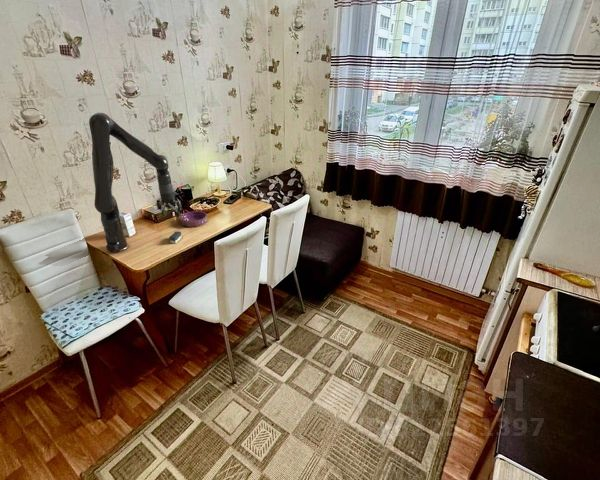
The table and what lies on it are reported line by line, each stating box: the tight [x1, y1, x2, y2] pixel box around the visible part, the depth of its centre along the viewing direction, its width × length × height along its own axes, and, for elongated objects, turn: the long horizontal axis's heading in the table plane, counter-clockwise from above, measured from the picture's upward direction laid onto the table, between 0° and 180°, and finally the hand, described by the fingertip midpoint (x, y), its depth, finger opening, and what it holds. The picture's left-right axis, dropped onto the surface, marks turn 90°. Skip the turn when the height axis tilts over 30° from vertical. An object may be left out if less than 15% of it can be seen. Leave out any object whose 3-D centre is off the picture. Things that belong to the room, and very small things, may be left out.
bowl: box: [180, 210, 208, 227], centre depth 214 cm, size 17×17×4 cm
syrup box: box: [119, 211, 137, 238], centre depth 193 cm, size 6×6×14 cm
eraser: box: [168, 230, 183, 244], centre depth 190 cm, size 8×4×4 cm, turn 173°
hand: (171, 216), depth 184 cm, fingers open, 8 cm apart
